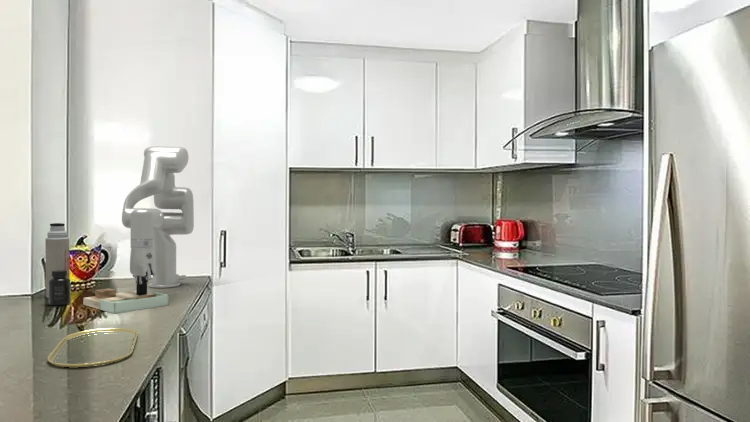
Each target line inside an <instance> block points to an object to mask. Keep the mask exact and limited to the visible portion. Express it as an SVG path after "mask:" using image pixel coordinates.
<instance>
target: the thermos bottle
mask: <svg viewBox="0 0 750 422" xmlns="http://www.w3.org/2000/svg"><path fill="white" fill-rule="evenodd" d="M49 226H50V228H49V229H50V230H49V231H48V232H47V234H46V235H47V237H46V238H45V298H47V299H49V280H50V279H52V276H51V275H52V271H56V270H67V278H69V279H70V275H71V274H70V273H71V271H70V268H71V267H70V237H69V236H68V231H66V230H65V229H66V227H65V223H62V222H61V223H60V222H57V223H56V222H55V223H50V224H49ZM70 280H71V279H70Z"/></svg>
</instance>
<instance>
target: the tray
mask: <svg viewBox="0 0 750 422" xmlns="http://www.w3.org/2000/svg"><path fill="white" fill-rule="evenodd" d="M152 294H156V297H151V298H144V299H137V300H136V299H129V300H123V301H116V302H110V301H106V300H103V299H100V309H99V310H101V311H104V312H108V313H111V314H121V313H127V312H133V311H139V310H143V309H144V310H145V309H151V308H158V307H163V306H164V307H165V306H168V305H169V303H170V302H169V301H170V298H169V297H170V295H169V294H165V293H161V292H157V291H152Z"/></svg>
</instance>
